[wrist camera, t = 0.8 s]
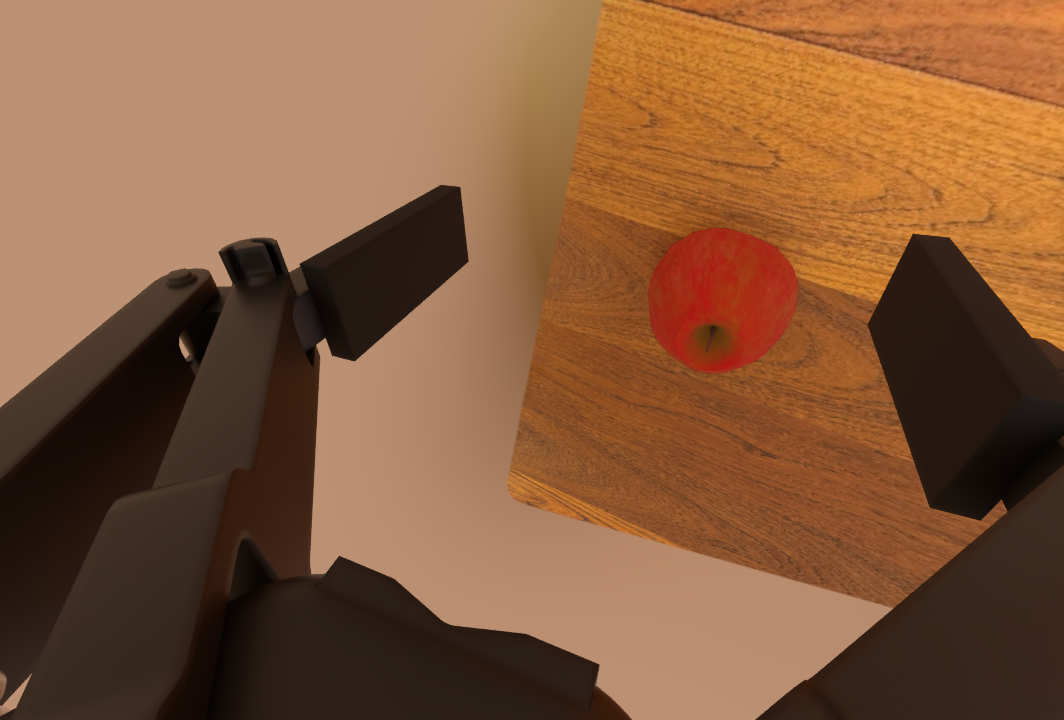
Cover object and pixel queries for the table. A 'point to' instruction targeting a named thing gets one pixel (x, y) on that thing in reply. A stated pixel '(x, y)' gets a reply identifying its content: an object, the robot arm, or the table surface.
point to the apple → (721, 299)
